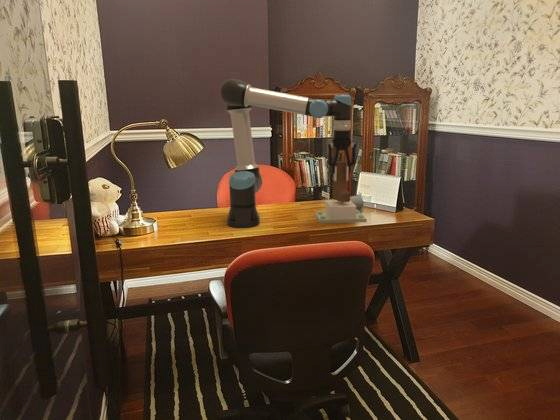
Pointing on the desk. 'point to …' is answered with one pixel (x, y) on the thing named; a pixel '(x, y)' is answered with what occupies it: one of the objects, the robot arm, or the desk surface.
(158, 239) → the desk surface
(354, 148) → the robot arm
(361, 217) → the tower base
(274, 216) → the desk surface
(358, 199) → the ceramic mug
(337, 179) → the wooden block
